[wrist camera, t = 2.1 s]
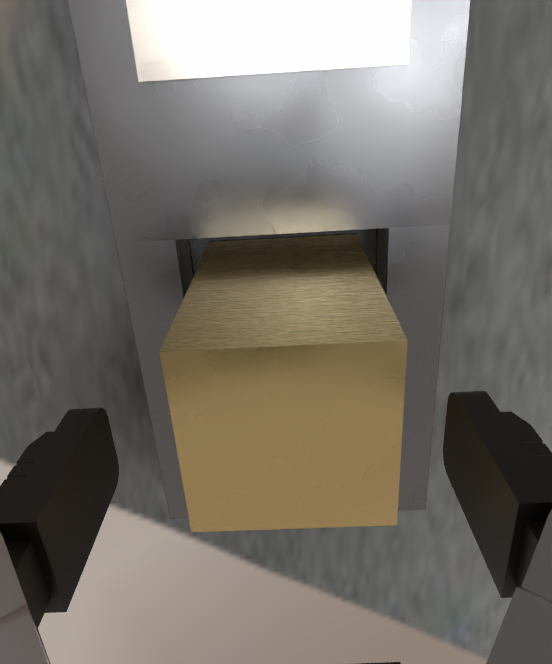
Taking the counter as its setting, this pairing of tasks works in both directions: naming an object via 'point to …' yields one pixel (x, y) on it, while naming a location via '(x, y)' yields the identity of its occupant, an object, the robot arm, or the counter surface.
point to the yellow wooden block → (287, 387)
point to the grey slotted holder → (278, 158)
